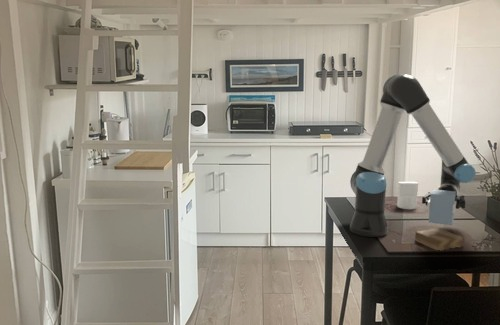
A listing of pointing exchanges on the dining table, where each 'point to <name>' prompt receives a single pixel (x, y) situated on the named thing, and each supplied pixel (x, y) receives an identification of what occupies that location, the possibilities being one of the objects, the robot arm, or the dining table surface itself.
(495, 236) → the dining table surface
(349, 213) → the dining table surface
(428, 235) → the walnut block
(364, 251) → the dining table surface
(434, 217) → the slate block
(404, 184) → the white cylinder
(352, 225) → the robot arm
